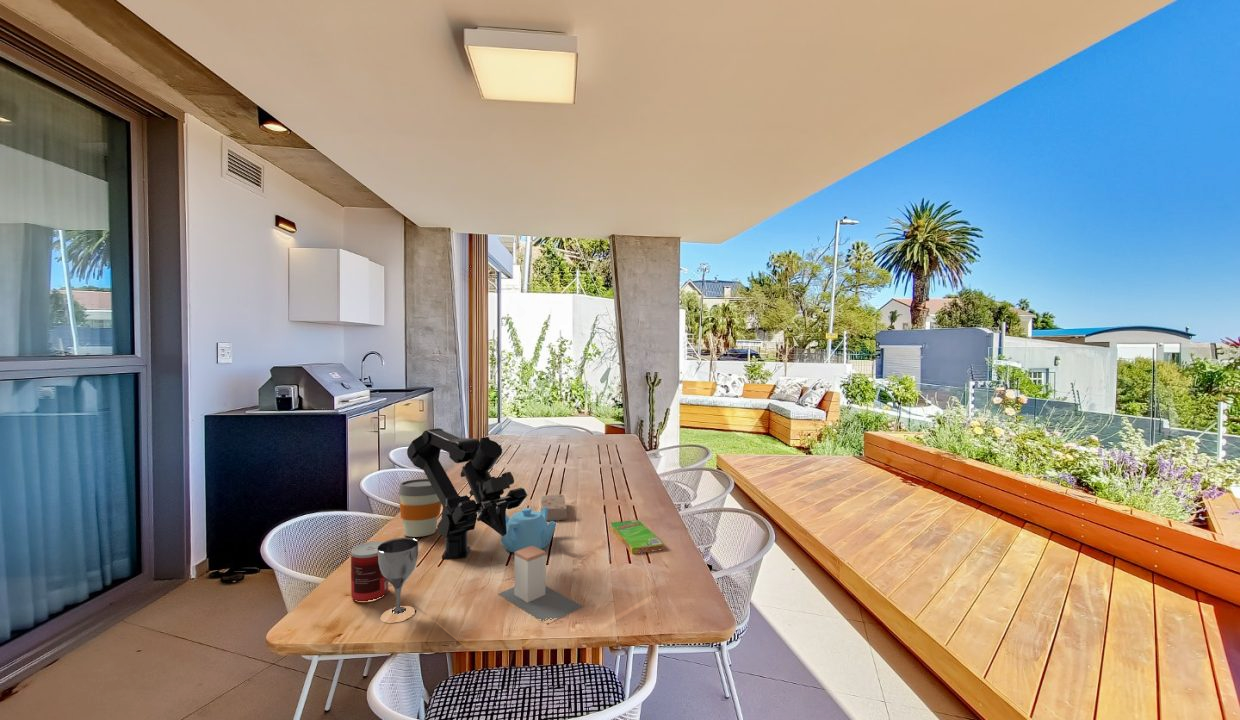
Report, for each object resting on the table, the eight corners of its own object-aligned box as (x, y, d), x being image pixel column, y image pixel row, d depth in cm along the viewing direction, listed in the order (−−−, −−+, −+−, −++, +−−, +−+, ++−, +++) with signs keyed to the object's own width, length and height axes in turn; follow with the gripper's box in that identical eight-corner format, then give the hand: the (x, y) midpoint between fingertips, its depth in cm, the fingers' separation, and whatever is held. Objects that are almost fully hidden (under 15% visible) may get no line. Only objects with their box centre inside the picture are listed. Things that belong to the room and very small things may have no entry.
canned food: (378, 583, 118) (378, 538, 118) (394, 594, 113) (394, 547, 113) (345, 595, 112) (344, 548, 112) (360, 607, 107) (360, 558, 107)
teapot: (497, 538, 147) (497, 502, 146) (547, 533, 151) (547, 498, 151) (501, 559, 132) (501, 520, 132) (556, 553, 137) (556, 515, 136)
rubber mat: (497, 596, 113) (497, 593, 113) (533, 581, 120) (533, 579, 120) (547, 627, 101) (547, 624, 100) (583, 609, 108) (583, 606, 108)
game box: (631, 558, 137) (608, 528, 156) (663, 554, 140) (637, 525, 159) (631, 547, 136) (609, 519, 156) (664, 543, 140) (638, 516, 159)
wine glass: (423, 604, 109) (423, 537, 109) (409, 624, 101) (409, 552, 101) (387, 604, 109) (387, 537, 108) (370, 624, 101) (370, 552, 100)
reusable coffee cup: (449, 527, 155) (450, 479, 156) (428, 539, 142) (429, 487, 143) (412, 525, 157) (414, 477, 157) (388, 537, 144) (390, 485, 145)
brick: (540, 506, 177) (540, 493, 177) (563, 505, 178) (563, 492, 178) (541, 523, 161) (541, 509, 160) (567, 521, 162) (567, 507, 162)
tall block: (514, 594, 112) (514, 551, 112) (531, 587, 116) (532, 545, 116) (527, 602, 109) (527, 558, 109) (545, 594, 113) (545, 551, 112)
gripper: (458, 469, 116) (483, 527, 109) (523, 457, 129) (549, 508, 122) (442, 495, 121) (465, 552, 114) (506, 480, 135) (530, 531, 128)
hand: (504, 534), depth 119 cm, fingers closed
